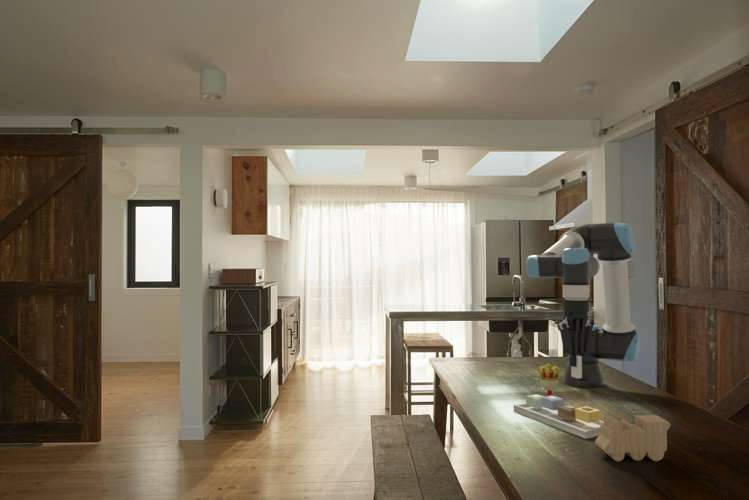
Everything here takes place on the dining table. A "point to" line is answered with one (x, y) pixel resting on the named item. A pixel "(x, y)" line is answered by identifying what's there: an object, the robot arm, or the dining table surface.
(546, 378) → the toy
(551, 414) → the base
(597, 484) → the dining table surface
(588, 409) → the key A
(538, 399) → the key
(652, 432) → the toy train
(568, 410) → the key
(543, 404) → the blue square block
